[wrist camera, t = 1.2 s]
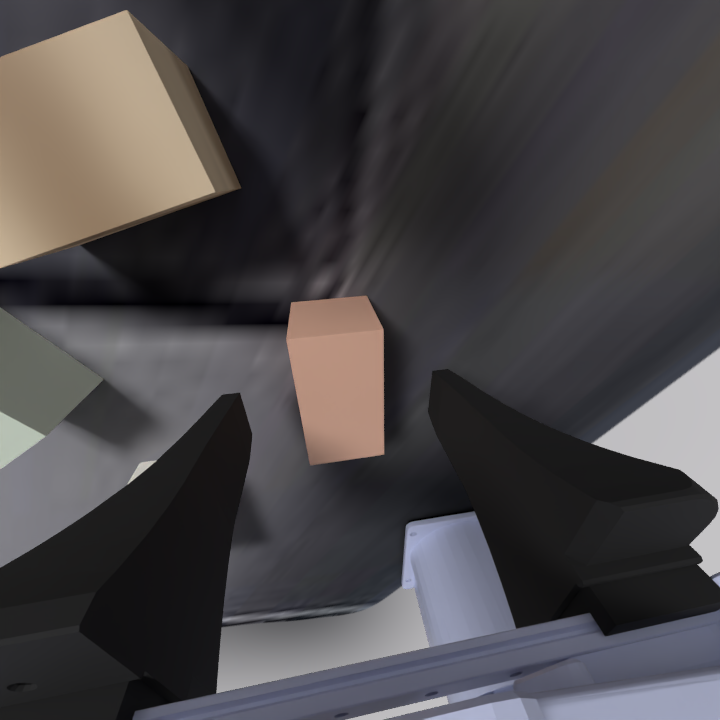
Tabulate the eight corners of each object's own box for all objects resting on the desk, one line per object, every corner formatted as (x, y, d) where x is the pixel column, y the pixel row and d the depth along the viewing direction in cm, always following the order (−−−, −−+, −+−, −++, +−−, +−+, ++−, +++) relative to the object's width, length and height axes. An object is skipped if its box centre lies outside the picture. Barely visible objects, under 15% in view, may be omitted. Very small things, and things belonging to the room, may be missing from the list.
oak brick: (188, 67, 9) (127, 10, 6) (242, 188, 11) (215, 192, 8) (1, 136, 9) (-156, 114, 6) (82, 244, 11) (-7, 270, 8)
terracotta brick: (369, 402, 16) (384, 454, 13) (309, 410, 16) (310, 465, 13) (366, 294, 13) (383, 329, 10) (291, 301, 13) (286, 339, 10)
